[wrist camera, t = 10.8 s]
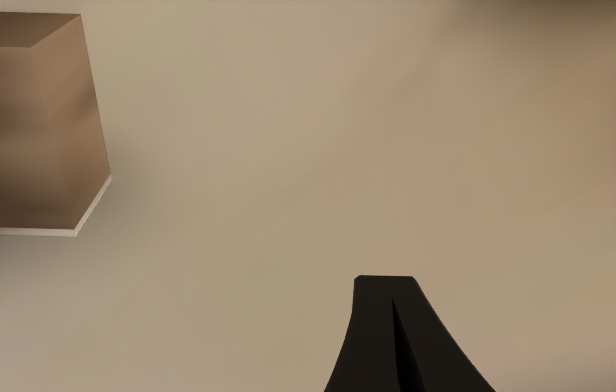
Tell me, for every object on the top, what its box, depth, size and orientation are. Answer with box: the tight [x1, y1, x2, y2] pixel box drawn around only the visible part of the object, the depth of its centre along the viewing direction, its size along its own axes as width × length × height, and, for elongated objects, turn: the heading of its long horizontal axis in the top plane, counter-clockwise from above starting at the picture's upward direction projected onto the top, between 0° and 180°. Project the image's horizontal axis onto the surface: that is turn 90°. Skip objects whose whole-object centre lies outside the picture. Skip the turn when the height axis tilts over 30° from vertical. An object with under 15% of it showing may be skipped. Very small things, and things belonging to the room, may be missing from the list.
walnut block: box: [0, 12, 112, 237], centre depth 19 cm, size 5×4×7 cm
